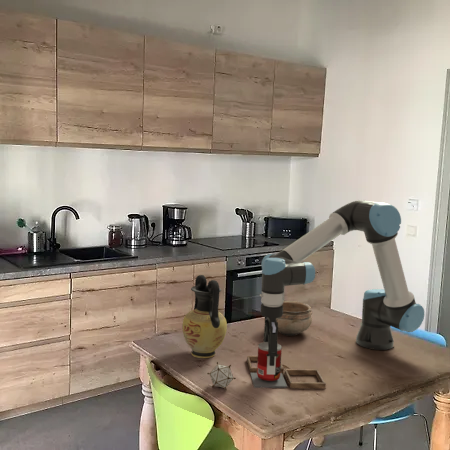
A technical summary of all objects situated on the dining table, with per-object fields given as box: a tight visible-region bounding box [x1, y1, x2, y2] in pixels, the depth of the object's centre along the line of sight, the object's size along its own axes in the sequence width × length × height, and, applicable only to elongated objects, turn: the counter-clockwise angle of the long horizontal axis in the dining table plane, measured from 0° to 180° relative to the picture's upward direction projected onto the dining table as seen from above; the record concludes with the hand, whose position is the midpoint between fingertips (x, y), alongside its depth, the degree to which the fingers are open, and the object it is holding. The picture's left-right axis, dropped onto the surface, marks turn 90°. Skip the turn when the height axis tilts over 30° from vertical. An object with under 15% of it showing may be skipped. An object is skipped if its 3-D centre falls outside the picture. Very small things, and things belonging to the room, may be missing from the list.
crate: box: [246, 355, 285, 374], centre depth 198 cm, size 12×12×2 cm
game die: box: [207, 361, 236, 391], centre depth 178 cm, size 9×8×10 cm
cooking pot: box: [276, 300, 313, 337], centre depth 236 cm, size 25×19×12 cm
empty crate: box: [283, 368, 327, 390], centre depth 186 cm, size 12×12×2 cm
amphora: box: [182, 274, 228, 359], centre depth 206 cm, size 18×17×30 cm
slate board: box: [250, 373, 288, 389], centre depth 185 cm, size 11×11×1 cm
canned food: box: [256, 341, 282, 381], centre depth 184 cm, size 8×8×11 cm
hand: (269, 369), depth 185 cm, fingers closed on canned food, 8 cm apart
